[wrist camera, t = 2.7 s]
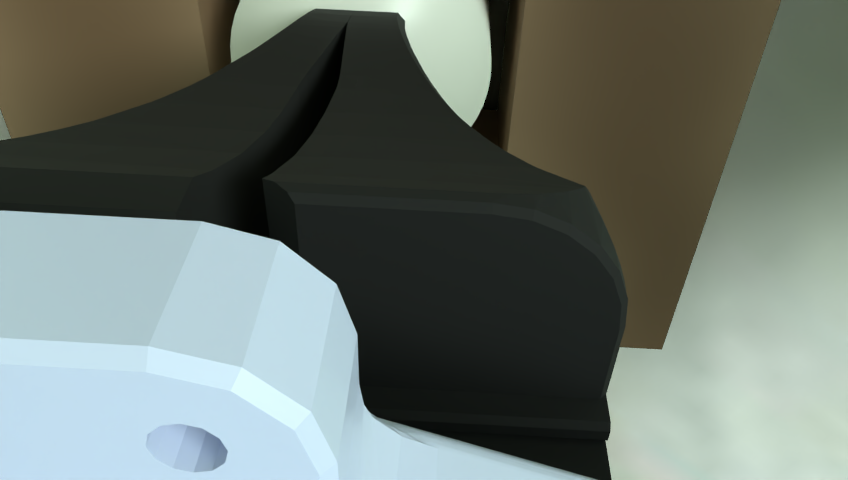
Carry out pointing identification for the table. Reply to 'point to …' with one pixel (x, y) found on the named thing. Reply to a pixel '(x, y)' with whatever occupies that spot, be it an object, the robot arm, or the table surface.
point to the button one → (426, 30)
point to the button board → (505, 127)
